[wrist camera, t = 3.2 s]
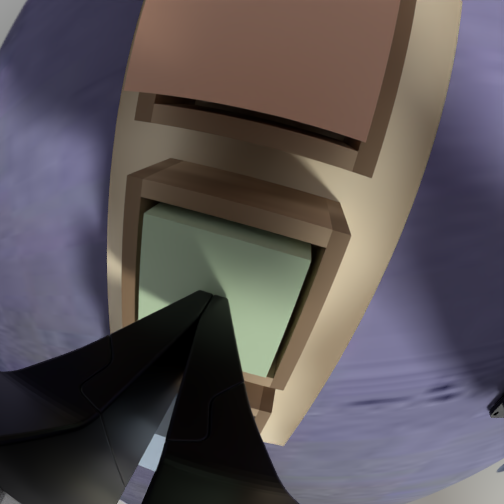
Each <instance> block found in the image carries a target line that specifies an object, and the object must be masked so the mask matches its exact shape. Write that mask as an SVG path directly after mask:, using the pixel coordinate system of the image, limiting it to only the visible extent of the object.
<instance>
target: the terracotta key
mask: <svg viewBox="0 0 504 504" xmlns="http://www.w3.org/2000/svg"><path fill="white" fill-rule="evenodd" d="M399 6H400V0H146V1H145V5H144V8H143V11H142V15H141V18H140V22H139V25H138V29H137V33H136V37H135V41H134V45H133V49H132V53H131V58H130V62H129V67H128V71H127V76H126V81H125V86H124V91H134V92H144V93H153V94H162V95H170V96H177V97H184V98H190V99H197V100H203V101H208V102H214V103H219V104H225V105H230V106H235V107H240V108H244V109H249V110H254V111H258V112H262V113H266V114H271V115H275V116H279V117H283V118H287V119H290V120H294V121H298V122H301V123H305V124H309V125H312V126H315V127H319V128H322V129H326V130H329V131H332V132H335V133H338V134H341V135H345V136H348V137H351V138H354V139H357V140H359V141H362V142H365V143H366V140H367V137H368V133H369V130H370V127H371V123H372V119H373V116H374V112H375V109H376V105H377V101H378V98H379V94H380V90H381V86H382V82H383V78H384V74H385V70H386V66H387V62H388V58H389V53H390V49H391V44H392V40H393V35H394V31H395V26H396V21H397V16H398V11H399Z"/></svg>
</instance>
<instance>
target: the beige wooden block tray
mask: <svg viewBox="0 0 504 504" xmlns="http://www.w3.org/2000/svg"><path fill="white" fill-rule="evenodd" d="M145 1H146V0H144V1H143V4H142V8H141V11H140V14H139V18H138V21H137V25H136V29H135V33H134V36H133V40H132V44H131V49H130V53H129V57H128V62H127V66H126V71H125V76H124V81H123V86H122V91H121V97H120V103H119V109H118V115H117V122H116V129H115V137H114V145H113V154H112V164H111V174H110V187H109V203H108V227H107V283H108V307H109V322H110V334H111V333H113V332H115V331H117V330H119V329H121V328H124V327H126V326H128V325H130V324H132V323H134V322H136V321H138V310H139V276H140V257H141V242H142V229H143V217H144V213H145V212H147V211H148V210H149V209H151V208H152V207H154V206H155V205H157V204H158V203H160V202H163V203H167V204H171V205H175V206H178V207H182V208H186V209H190V210H193V211H197V212H201V213H205V214H208V215H212V216H216V217H219V218H223V219H227V220H230V221H234V222H237V223H241V224H245V225H248V226H252V227H255V228H259V229H263V230H266V231H270V232H273V233H277V234H280V235H284V236H287V237H291V238H294V239H297V240H301V241H304V242H308V243H311V263H310V266H309V268H308V271H307V274H306V277H305V279H304V282H303V285H302V287H301V290H300V293H299V296H298V298H297V301H296V304H295V306H294V309H293V311H292V314H291V317H290V319H289V322H288V324H287V327H286V329H285V332H284V335H283V337H282V340H281V342H280V345H279V347H278V350H277V352H276V354H275V357H274V359H273V362H272V364H271V367H270V369H269V371H268V374H267V376H266V378H265V377H261V376H257V375H254V374H250V373H246V372H243V371H242V372H243V376H244V381H245V382H244V383H245V385H246V390H247V395H248V399H249V402H250V406H251V410H252V413H253V416H254V419H255V422H256V425H257V427H258V430H259V433H260V435H261V437H262V440H263V442H267V443H271V444H276V445H281V446H284V445H285V443H286V442H287V440H288V439H289V438H290V436H291V435H292V433H293V432H294V430H295V429H296V428H297V426H298V425H299V423H300V422H301V420H302V419H303V417H304V416H305V414H306V413H307V411H308V410H309V408H310V407H311V405H312V403H313V402H314V400H315V399H316V397H317V396H318V394H319V392H320V391H321V389H322V388H323V386H324V384H325V383H326V381H327V379H328V378H329V376H330V375H331V373H332V371H333V369H334V368H335V366H336V364H337V363H338V361H339V359H340V357H341V356H342V354H343V352H344V350H345V349H346V347H347V345H348V343H349V341H350V340H351V338H352V336H353V334H354V332H355V330H356V329H357V327H358V325H359V323H360V321H361V319H362V317H363V315H364V313H365V311H366V309H367V307H368V305H369V303H370V301H371V299H372V297H373V295H374V293H375V291H376V289H377V287H378V285H379V283H380V281H381V278H382V276H383V274H384V272H385V270H386V268H387V265H388V263H389V261H390V259H391V256H392V254H393V252H394V250H395V247H396V245H397V243H398V240H399V238H400V235H401V233H402V230H403V228H404V226H405V223H406V221H407V218H408V215H409V213H410V210H411V208H412V205H413V202H414V200H415V197H416V194H417V191H418V189H419V186H420V183H421V180H422V177H423V174H424V171H425V168H426V165H427V162H428V159H429V156H430V153H431V149H432V146H433V143H434V140H435V136H436V133H437V129H438V126H439V122H440V118H441V114H442V111H443V107H444V103H445V99H446V94H447V90H448V86H449V81H450V77H451V72H452V67H453V62H454V57H455V51H456V45H457V39H458V33H459V26H460V18H461V9H462V1H461V0H400V6H399V11H398V16H397V21H396V26H395V31H394V35H393V40H392V44H391V49H390V53H389V58H388V62H387V66H386V70H385V74H384V78H383V82H382V86H381V90H380V94H379V98H378V101H377V105H376V109H375V112H374V116H373V119H372V123H371V127H370V130H369V133H368V137H367V140H366V143H365V142H362V141H359V140H357V139H354V138H351V137H348V136H345V135H341V134H338V133H335V132H332V131H329V130H326V129H322V128H319V127H315V126H312V125H309V124H305V123H301V122H298V121H294V120H290V119H287V118H283V117H279V116H275V115H271V114H266V113H262V112H258V111H254V110H249V109H244V108H240V107H235V106H230V105H225V104H219V103H214V102H208V101H203V100H197V99H190V98H184V97H177V96H170V95H162V94H153V93H144V92H134V91H124V86H125V81H126V76H127V71H128V67H129V62H130V58H131V53H132V49H133V45H134V41H135V37H136V33H137V29H138V25H139V22H140V18H141V15H142V11H143V8H144V5H145ZM178 391H179V390H178ZM177 393H178V392H177Z"/></svg>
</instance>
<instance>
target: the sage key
mask: <svg viewBox="0 0 504 504" xmlns="http://www.w3.org/2000/svg"><path fill="white" fill-rule="evenodd" d="M310 263H311V243H308V242H304V241H301V240H297V239H294V238H291V237H287V236H284V235H280V234H277V233H273V232H270V231H266V230H263V229H259V228H255V227H252V226H248V225H245V224H241V223H237V222H234V221H230V220H227V219H223V218H219V217H216V216H212V215H208V214H205V213H201V212H197V211H193V210H190V209H186V208H182V207H178V206H175V205H171V204H167V203H163V202H160V203H158V204H157V205H155V206H154V207H152V208H151V209H149V210H148V211H147V212H145V213H144V217H143V229H142V242H141V257H140V276H139V310H138V320H140V319H142V318H144V317H146V316H148V315H150V314H152V313H154V312H156V311H158V310H160V309H162V308H164V307H166V306H168V305H170V304H172V303H174V302H176V301H178V300H180V299H182V298H184V297H186V296H188V295H190V294H192V293H194V292H196V291H198V290H202V291H206V292H209V293H212V294H213V296H214V295H219V296H222V297H225V298H227V299H228V300H229V306H230V311H231V316H232V321H233V326H234V332H235V337H236V342H237V347H238V352H239V357H240V362H241V367H242V371H243V372H246V373H250V374H254V375H257V376H261V377H265V378H266V376H267V374H268V371H269V369H270V367H271V364H272V362H273V359H274V357H275V354H276V352H277V350H278V347H279V345H280V342H281V340H282V337H283V335H284V332H285V329H286V327H287V324H288V322H289V319H290V317H291V314H292V311H293V309H294V306H295V304H296V301H297V298H298V296H299V293H300V290H301V287H302V285H303V282H304V279H305V277H306V274H307V271H308V268H309V266H310Z"/></svg>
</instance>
